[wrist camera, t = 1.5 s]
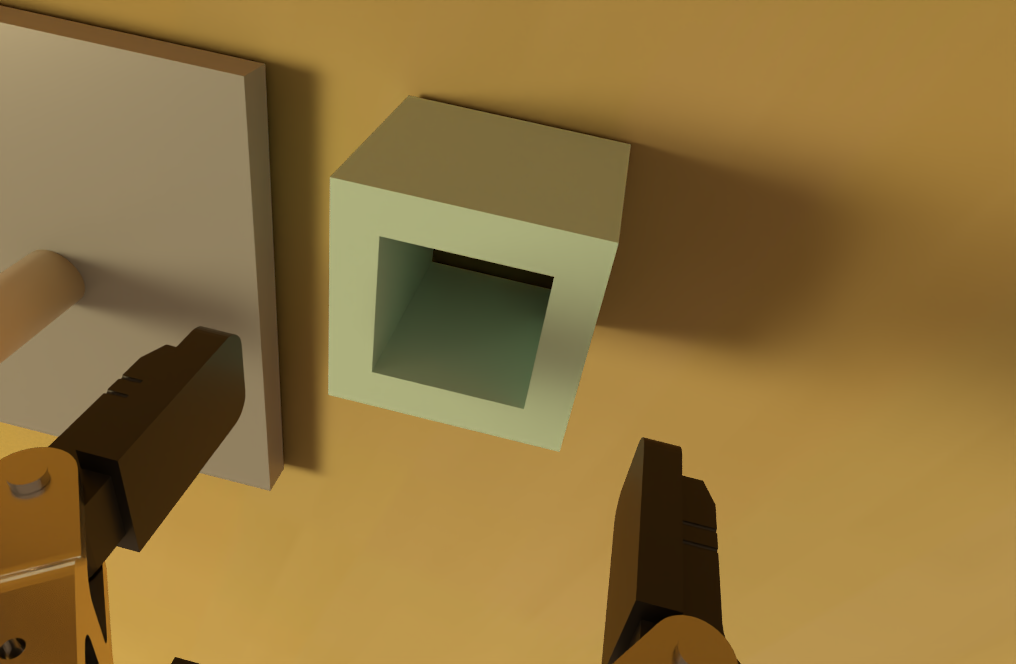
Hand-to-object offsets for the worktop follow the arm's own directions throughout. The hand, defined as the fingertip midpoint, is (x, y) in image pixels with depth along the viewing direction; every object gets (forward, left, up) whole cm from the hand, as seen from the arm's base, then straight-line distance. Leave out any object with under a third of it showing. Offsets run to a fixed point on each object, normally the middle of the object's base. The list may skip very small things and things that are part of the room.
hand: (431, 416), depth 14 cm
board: (+5, -14, -8) cm, 17 cm away
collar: (0, 0, -8) cm, 8 cm away
